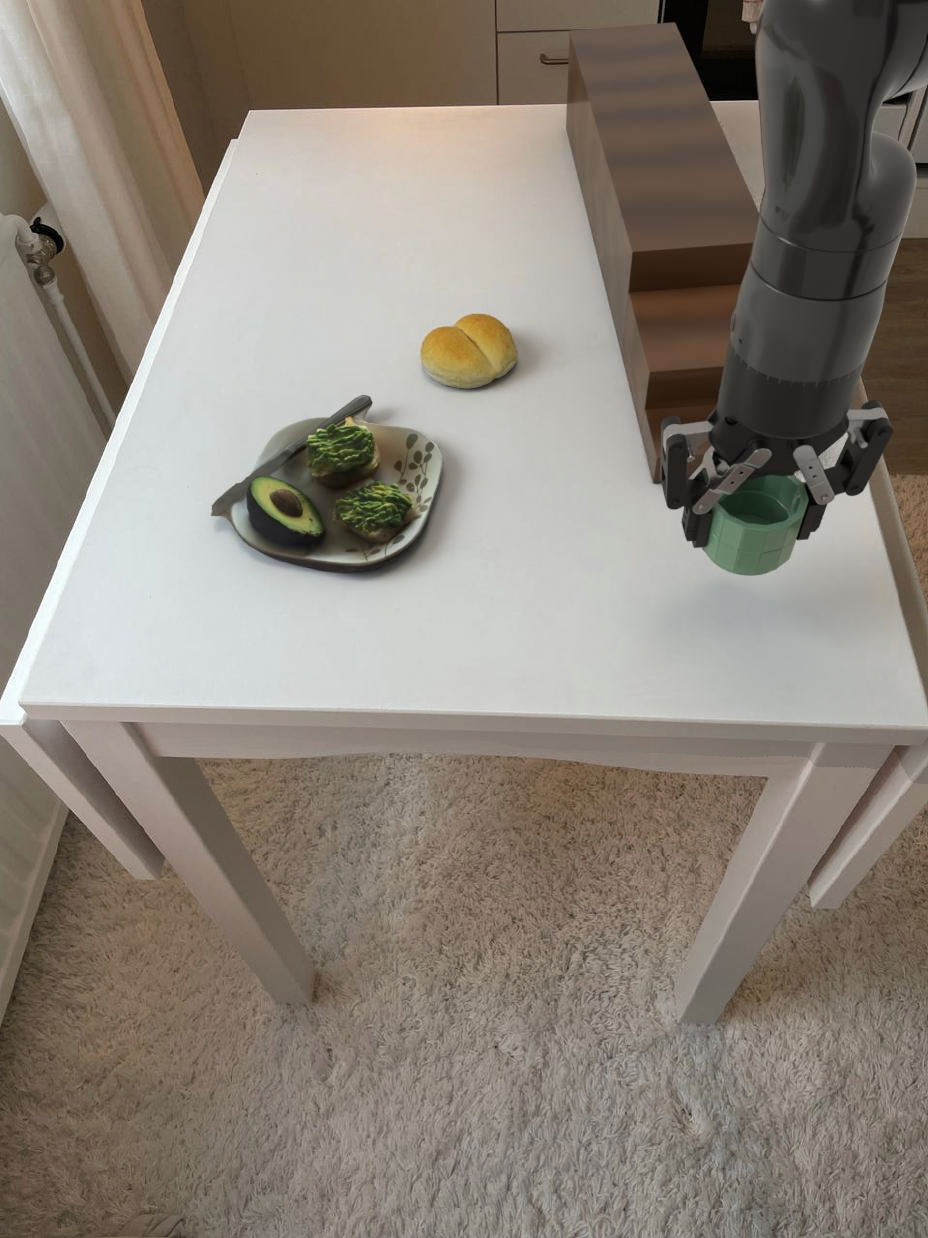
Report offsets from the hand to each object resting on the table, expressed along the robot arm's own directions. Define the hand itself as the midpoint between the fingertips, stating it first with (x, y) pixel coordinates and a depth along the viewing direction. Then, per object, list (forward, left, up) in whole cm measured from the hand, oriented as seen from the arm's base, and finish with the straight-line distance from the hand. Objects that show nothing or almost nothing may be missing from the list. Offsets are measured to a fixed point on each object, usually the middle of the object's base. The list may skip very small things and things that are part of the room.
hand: (747, 534), depth 66 cm
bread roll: (+30, -19, -8) cm, 37 cm away
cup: (0, 0, -1) cm, 1 cm away
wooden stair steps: (+18, -40, -8) cm, 44 cm away
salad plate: (+33, +2, -8) cm, 34 cm away
